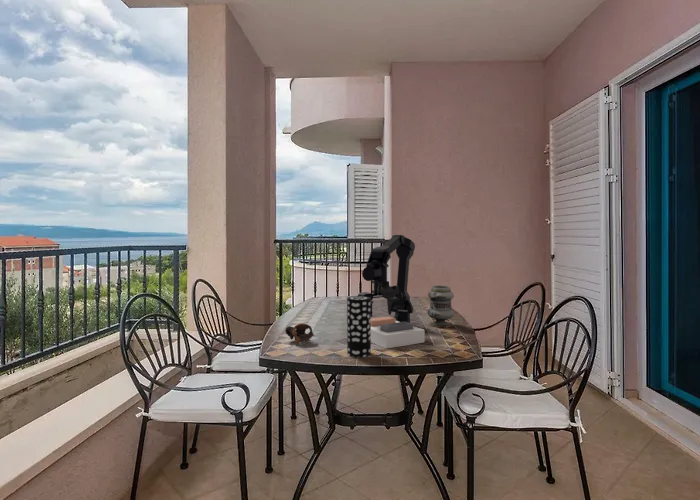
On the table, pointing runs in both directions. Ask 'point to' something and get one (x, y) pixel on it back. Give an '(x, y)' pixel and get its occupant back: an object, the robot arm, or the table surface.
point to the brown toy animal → (299, 333)
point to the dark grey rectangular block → (396, 326)
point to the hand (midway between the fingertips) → (380, 315)
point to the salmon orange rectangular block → (382, 321)
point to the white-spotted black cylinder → (358, 326)
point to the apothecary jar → (440, 305)
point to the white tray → (396, 337)
